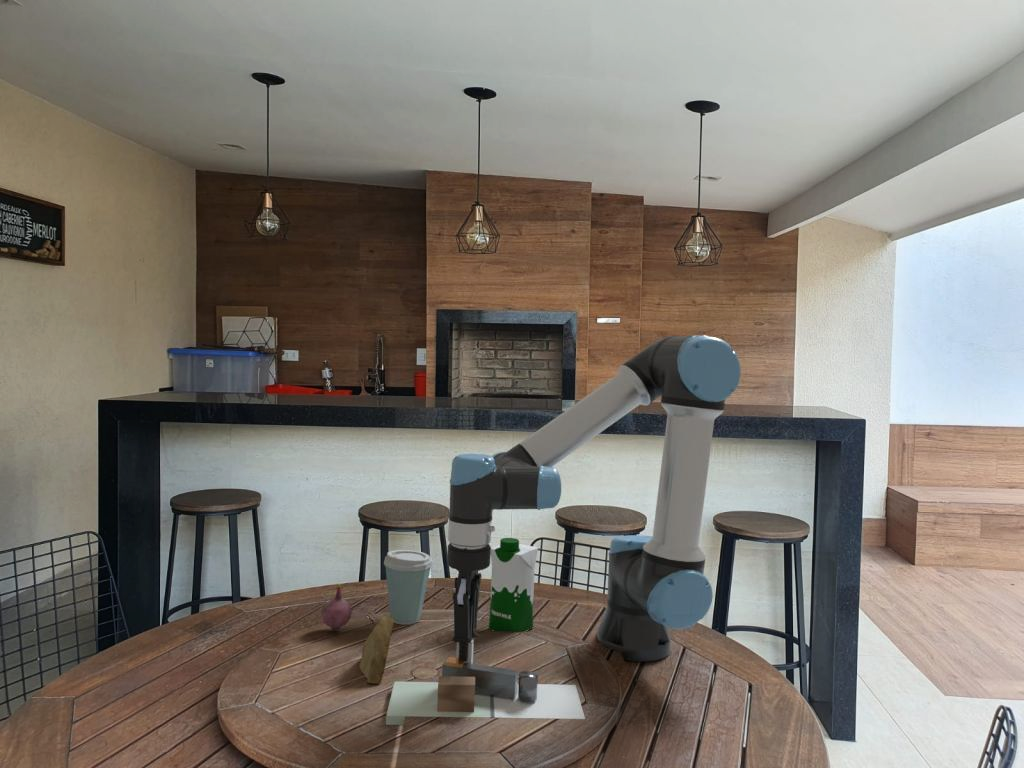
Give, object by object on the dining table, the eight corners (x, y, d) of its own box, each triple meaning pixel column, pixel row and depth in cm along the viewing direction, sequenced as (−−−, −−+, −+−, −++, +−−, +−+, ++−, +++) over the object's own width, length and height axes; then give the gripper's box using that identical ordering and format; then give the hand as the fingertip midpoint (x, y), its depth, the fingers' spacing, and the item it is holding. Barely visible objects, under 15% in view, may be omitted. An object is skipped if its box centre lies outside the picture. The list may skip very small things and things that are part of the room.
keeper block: (474, 703, 123) (475, 676, 123) (474, 712, 120) (475, 685, 120) (438, 702, 123) (439, 676, 123) (437, 711, 120) (438, 684, 120)
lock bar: (538, 695, 126) (539, 668, 126) (534, 703, 123) (535, 676, 123) (446, 680, 130) (447, 655, 130) (440, 688, 127) (441, 662, 127)
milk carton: (482, 630, 159) (486, 538, 158) (505, 618, 166) (509, 530, 165) (517, 641, 154) (521, 546, 153) (539, 628, 162) (543, 537, 161)
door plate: (574, 693, 132) (575, 684, 132) (584, 727, 120) (585, 718, 120) (394, 689, 130) (394, 681, 130) (386, 724, 118) (386, 715, 118)
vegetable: (355, 633, 155) (357, 586, 154) (327, 638, 151) (328, 590, 151) (344, 623, 160) (346, 578, 159) (316, 628, 156) (318, 582, 156)
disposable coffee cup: (405, 607, 171) (407, 543, 170) (440, 619, 164) (443, 552, 163) (371, 620, 162) (373, 553, 161) (407, 633, 156) (409, 563, 155)
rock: (393, 677, 130) (415, 648, 140) (364, 637, 130) (389, 610, 140) (349, 702, 134) (374, 672, 143) (322, 663, 134) (348, 636, 143)
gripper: (483, 555, 122) (477, 695, 123) (497, 535, 135) (491, 662, 136) (439, 551, 123) (433, 690, 124) (456, 532, 136) (451, 658, 137)
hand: (463, 675), depth 130 cm, fingers closed
